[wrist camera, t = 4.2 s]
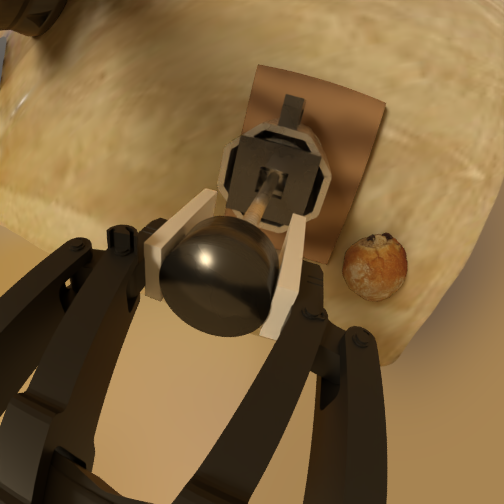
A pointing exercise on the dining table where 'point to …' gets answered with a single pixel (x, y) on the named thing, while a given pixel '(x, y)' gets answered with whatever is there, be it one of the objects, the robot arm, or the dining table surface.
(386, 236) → the bread roll
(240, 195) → the grey faceted handled container
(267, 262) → the plunger
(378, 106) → the board
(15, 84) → the dining table surface
